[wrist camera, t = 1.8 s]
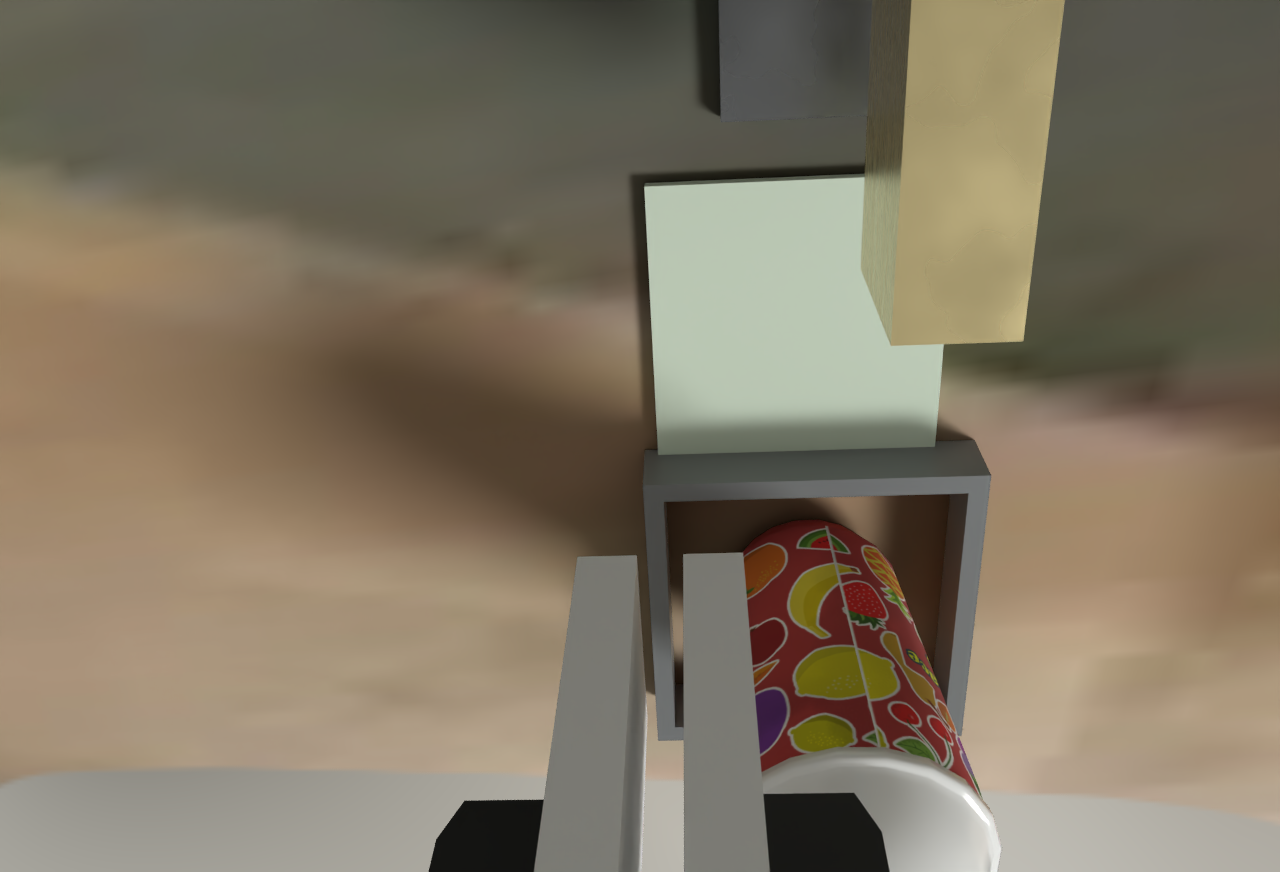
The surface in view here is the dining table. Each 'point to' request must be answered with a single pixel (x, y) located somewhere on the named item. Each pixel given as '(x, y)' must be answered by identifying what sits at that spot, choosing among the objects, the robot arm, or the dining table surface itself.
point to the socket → (815, 477)
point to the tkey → (956, 164)
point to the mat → (775, 323)
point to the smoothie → (858, 698)
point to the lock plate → (793, 58)
